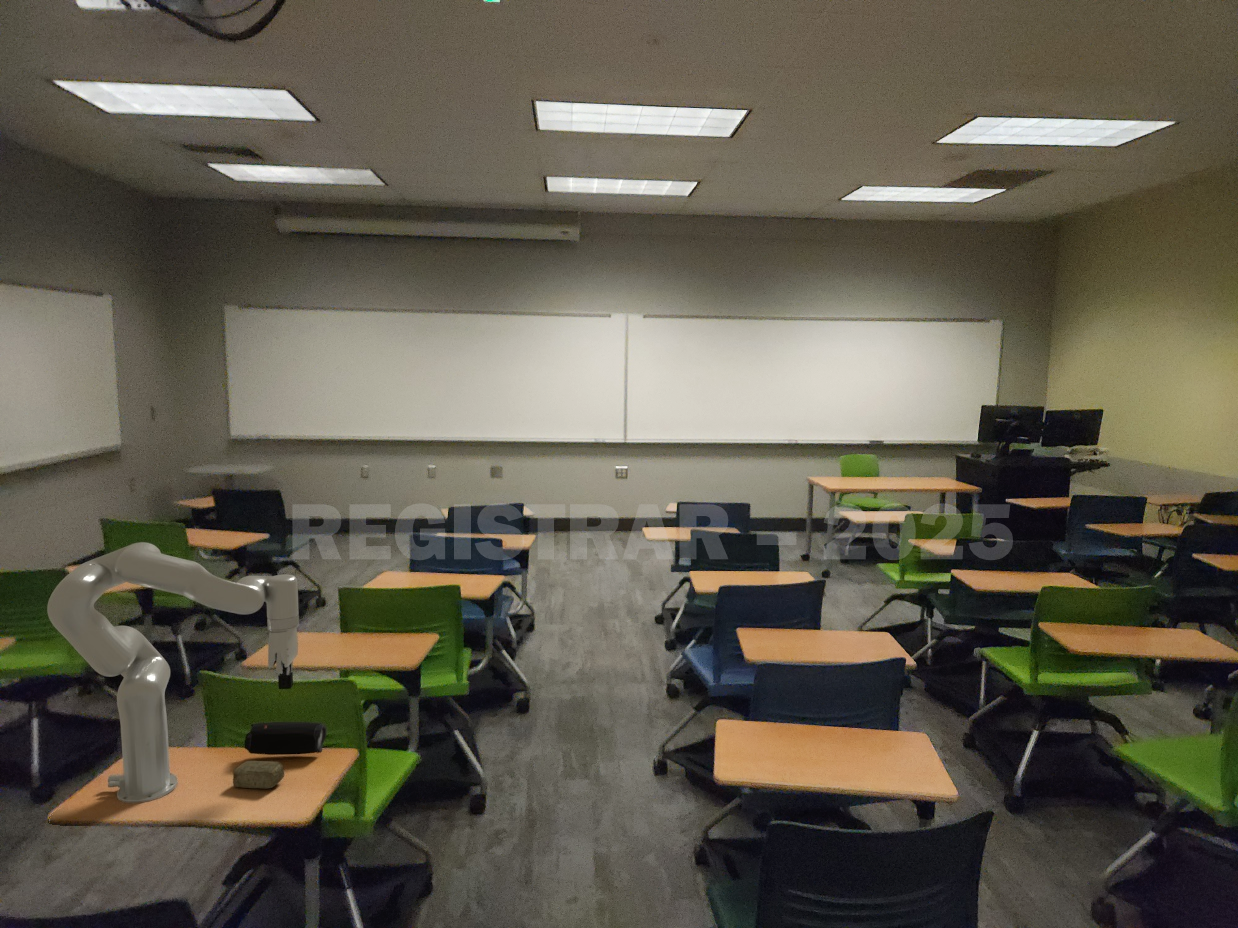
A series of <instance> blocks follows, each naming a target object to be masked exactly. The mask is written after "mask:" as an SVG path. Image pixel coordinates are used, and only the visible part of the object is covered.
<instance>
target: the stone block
mask: <svg viewBox="0 0 1238 928" xmlns="http://www.w3.org/2000/svg"><path fill="white" fill-rule="evenodd" d="M232 771H233V773H232V784H233V787H236V788H243V789H271V788H273V787H275V786H276V785H277V784H279V783H280V782H281V781H282V780H283V779H284V777H285V770H284V766H283V764H282V762H280V761H272V760H271V761H270V760H269V761H268V760H246V761H244V762H243V763H242V764H239V766H238V767H236V768H235V769H234V770H232Z"/></svg>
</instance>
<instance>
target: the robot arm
mask: <svg viewBox="0 0 1238 928" xmlns="http://www.w3.org/2000/svg"><path fill="white" fill-rule="evenodd" d="M125 583H128V584H132V585H136V586H141V587H144V588H145V587H146V588H148V589H149V588H150V589H154V590H159V591H163V592H167V593H171V594H176V595H179V596H183V597H186V598H187V599H189V600H191V601H194V602H197V603H198V604H200V605H203V606H205V607H208V608H212V609H214V610H215V609H216V610H219V611H223V612H228V613H233V614H237V615H251V614H254V613H256V612H258V611H259V610H260V609H261V608H262V607H263V605H264V602H265V604H266V617H267V619H266V620H267V623H266V624H267V630H268V631H269V633H268V634H269V635H268V643H267V648H268V649H267V653H268V654H267V658H268V659H267V667H268V668H269V669H273V667H274V666H276V668H275V675H277V679H278V680H277V682H278V684H277V686H278V689H279V690H290V689H292V687H293V686H294V679H293V678H294V677H293V676H294V674H293V672H294V671H293V669H294V668H293V667H294V662H293V661H294V660H295V659H296V658H297V656H298V653H299V642H298V641H299V640H298V629H297V628H298V627H299V626H300V615H299V613H300V611H299V592H298V591H299V590H298V589H299V586H298V579H297V577H296V576H295V575H293V574H287V573H285V574H277V575H273V576H272V575H270V576H268V575H266V576H265V575H247V576H243V577H242V578H240V579H238V580H237V581H236V582H234V581H231V580H228V579H224V578H221V577H219V576H216V575H214V574H212V573H211V572H209V571H208V570H207V569H206V568H205V567H204V566H203V565H201V564H200V563H198V562H196V561H193V560H191V559H185V558H180V557H176V556H172V555H170V554H165V553H162V552H161V550H160V549H159V548H158V547H157V546H156V545H154V544H153V543H150V542H144V541H141V542H135V543H131V544H129V545H127V546H124V547H122V548H119V549H116V550H113V551H111V552H108V553H105V554H104V555H101V556H99V557H98V556H97V557H95V558H93V559H90V560H88V561H86V562H83V563H81V564H80V565H78V566H76V567H75V568H74V569H73V570H72V571H70V573H68V574H67V575H66V576H65V577H64V578H62V580H61V581H59V583H58V584H57V585H56V587H55V588H54V590H53V591H52V593H51V595H50V597H49V599H48V602H47V606H46V607H47V608H46V609H47V610H46V611H47V615H48V619H49V621H50V623H51V624H52V625H53V627H54V628H55V630H57V631H58V632H59V633H60V634H61V635H62V636H63V637H64V638H65V639H66V641H67V642H68V643H69V644H70V645H71V646H72V647H73V648H74V650H76V652H77V653H78V654H79V655H80V656H81V657H82V658H83V659H84V661H86V663H88V664H89V666H90V667H91V668H92V669H93V670H94V671H95V672H96V673H97V674H99V675H101V676H103V677H109V678H110V677H116V676H119V675H121V676H122V677H123V679H122V681H121V682H120V685H119V686H118V690H117V693H116V704H117V711H118V716H119V722H120V737H121V750H122V751H121V752H122V753H121V754H122V769H123V774H118V773H117V774H109V776H108V778H107V783H108V784H107V787H108V788H118V790H117V793H116V797H117V800H119V801H120V802H122V803H128V804H137V803H138V804H139V803H145V802H150V801H154V800H155V801H156V800H158V799H160V798H162V797H165V796H166V795H168V794H170V793H172V792H173V790H175V788H176V787H177V785H178V777H177V775H175V774H174V773H171V771H170V768H171V767H170V753H169V752H170V751H169V749H170V748H169V733H168V732H169V730H168V716H167V707H166V699H165V698H166V697H165V696H166V694H165V693H166V689H167V685H168V683H169V682H170V681H169V680H170V678H171V667H170V665H169V663H168V661H166V659H165V658H164V657H163V655H162V654H161V653H160V652H159V651H158V650H157V648H155V646H153V645H152V643H151V642H150V641H149V640H148V639H147V638H146V636H144V635H143V633H142V632H141V631H139V630H137V628H134V627H132V626H128V625H115V626H114V625H113V624H112V623H111V622H110V621H109V619H108V618H107V616H105V615H103V613H101V612H99V611H98V610H96V608H95V606H94V605H95V603H96V601H97V600H98V599H100V598H101V596H103V595H104V594H105V592H106V591H109V590H110V589H113V588H115V587H118V586H120V585H122V584H125Z"/></svg>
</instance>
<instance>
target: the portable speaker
mask: <svg viewBox="0 0 1238 928" xmlns="http://www.w3.org/2000/svg"><path fill="white" fill-rule="evenodd" d="M250 727H251V729H250V730H249V732H247V733H246V734H245V738H244V746H243V747H244V749H245V750H247V751H248V753H250V754H252V755H253V754H254V755H256V754H257V755H267V756H271V755H272V756H275V755H278V756H279V755H281V756H282V755H285V756H286V755H287V756H288V755H306V754H315V753H316V754H319V753H320V754H321V753H322V752H323V745H324V742H325V740H326V739H327V732H328V731H327V726H326V724H324V723H322V722H311V721H310V722H309V721H273V722H271V721H270V722H256V723H251V725H250Z"/></svg>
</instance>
